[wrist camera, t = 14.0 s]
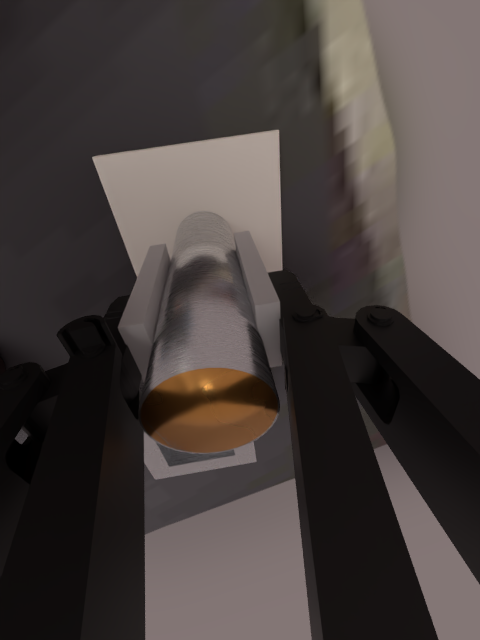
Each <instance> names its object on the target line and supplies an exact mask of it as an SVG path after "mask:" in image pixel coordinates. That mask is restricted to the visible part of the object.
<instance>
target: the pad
mask: <svg viewBox="0 0 480 640" xmlns="http://www.w3.org/2000/svg"><path fill="white" fill-rule="evenodd" d="M92 159H93V161H94V164H95V167H96V169H97V172H98V175H99V177H100V180H101V183H102V185H103V188H104V191H105V193H106V196H107V199H108V201H109V204H110V207H111V209H112V212H113V215H114V217H115V220H116V223H117V225H118V228H119V231H120V233H121V236H122V239H123V241H124V244H125V247H126V249H127V252H128V255H129V257H130V260H131V263H132V265H133V268H134V271H135V273H136V276H137V277H138V275H139V272H140V270H141V267H142V265H143V262H144V260H145V257H146V255H147V252H148V250H149V247H150V246H152V245H159V244H165V243H166V246H167V250H168V254H169V257H170V261H171V256H172V252H173V247H174V243H175V238H176V233H177V229H178V227H179V225H180V223H181V222H182V221H183V220H184V219H185V218H186V217H187V216H188V215H190V214H192V213H195V212H199V211H209V212H213V213H215V214H217V215H219V216H221V217H222V218H223V219H224V220H225V221H226V222H227V223H228V225H229V226H230V228H231V231H232V234H233V237H234V233H237V232H243V231H249V232H250V234H251V236H252V239H253V241H254V243H255V246H256V248H257V250H258V252H259V255H260V257H261V259H262V262H263V264H264V266H265V268H266V271H267V273H268V272H274V271H281V270H282V231H281V192H280V153H279V130H270V131H263V132H256V133H249V134H242V135H235V136H228V137H221V138H214V139H208V140H201V141H194V142H187V143H180V144H173V145H166V146H159V147H152V148H145V149H138V150H132V151H125V152H118V153H111V154H104V155H97V156H94V157H92ZM234 241H235V239H234Z"/></svg>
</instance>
